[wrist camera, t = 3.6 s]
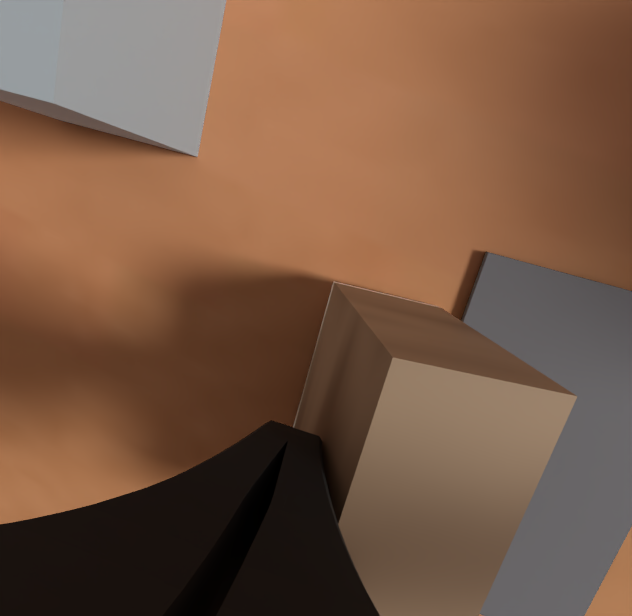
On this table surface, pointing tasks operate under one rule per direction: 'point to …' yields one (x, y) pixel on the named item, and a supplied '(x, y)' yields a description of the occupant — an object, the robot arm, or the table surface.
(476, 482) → the walnut block
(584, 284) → the mat
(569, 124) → the table surface
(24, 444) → the table surface
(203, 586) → the robot arm
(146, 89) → the grey block
